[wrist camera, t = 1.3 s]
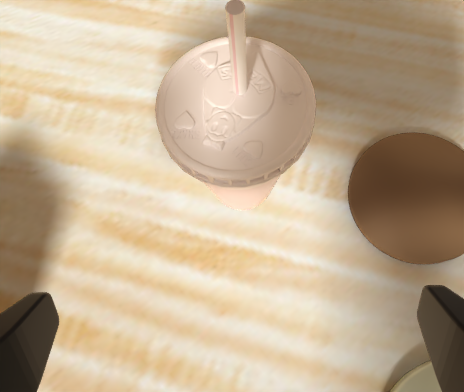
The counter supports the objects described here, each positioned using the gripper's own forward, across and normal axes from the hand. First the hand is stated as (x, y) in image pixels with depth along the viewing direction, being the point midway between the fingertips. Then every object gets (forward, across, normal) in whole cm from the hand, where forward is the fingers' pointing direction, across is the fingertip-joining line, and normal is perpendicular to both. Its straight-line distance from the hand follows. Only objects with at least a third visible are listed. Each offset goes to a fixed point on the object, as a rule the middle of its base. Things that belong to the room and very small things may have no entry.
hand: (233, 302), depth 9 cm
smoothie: (+15, 0, +4) cm, 15 cm away
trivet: (+14, -10, +5) cm, 18 cm away
